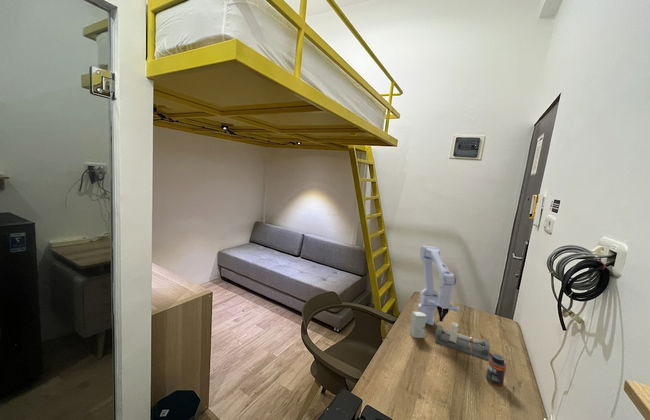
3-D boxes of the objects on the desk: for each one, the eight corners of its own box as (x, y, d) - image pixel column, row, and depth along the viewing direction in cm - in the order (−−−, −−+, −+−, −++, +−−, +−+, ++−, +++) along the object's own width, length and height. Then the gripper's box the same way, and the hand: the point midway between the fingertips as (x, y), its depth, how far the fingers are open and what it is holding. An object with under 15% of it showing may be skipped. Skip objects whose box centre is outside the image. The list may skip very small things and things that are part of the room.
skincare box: (413, 338, 125) (416, 316, 124) (408, 332, 130) (411, 311, 128) (424, 337, 126) (427, 316, 125) (419, 332, 130) (422, 311, 129)
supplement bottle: (499, 378, 103) (504, 354, 101) (505, 389, 97) (510, 363, 96) (483, 373, 105) (488, 349, 103) (487, 384, 99) (492, 359, 98)
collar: (449, 340, 123) (451, 325, 122) (449, 335, 128) (451, 320, 127) (455, 342, 122) (458, 327, 121) (455, 337, 127) (457, 322, 126)
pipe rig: (434, 342, 123) (436, 332, 122) (435, 330, 134) (436, 320, 133) (490, 361, 113) (492, 350, 112) (486, 346, 124) (488, 336, 123)
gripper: (429, 295, 125) (425, 319, 126) (461, 303, 118) (456, 329, 120) (429, 290, 131) (426, 313, 133) (460, 297, 125) (456, 322, 126)
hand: (440, 320), depth 127 cm, fingers closed
